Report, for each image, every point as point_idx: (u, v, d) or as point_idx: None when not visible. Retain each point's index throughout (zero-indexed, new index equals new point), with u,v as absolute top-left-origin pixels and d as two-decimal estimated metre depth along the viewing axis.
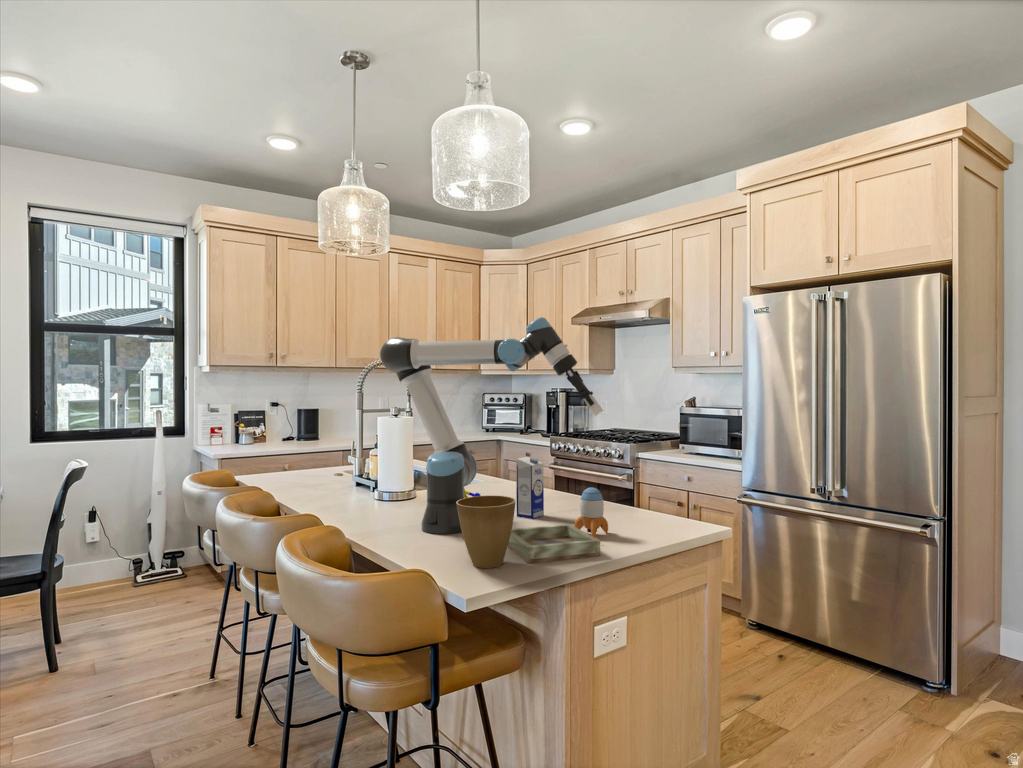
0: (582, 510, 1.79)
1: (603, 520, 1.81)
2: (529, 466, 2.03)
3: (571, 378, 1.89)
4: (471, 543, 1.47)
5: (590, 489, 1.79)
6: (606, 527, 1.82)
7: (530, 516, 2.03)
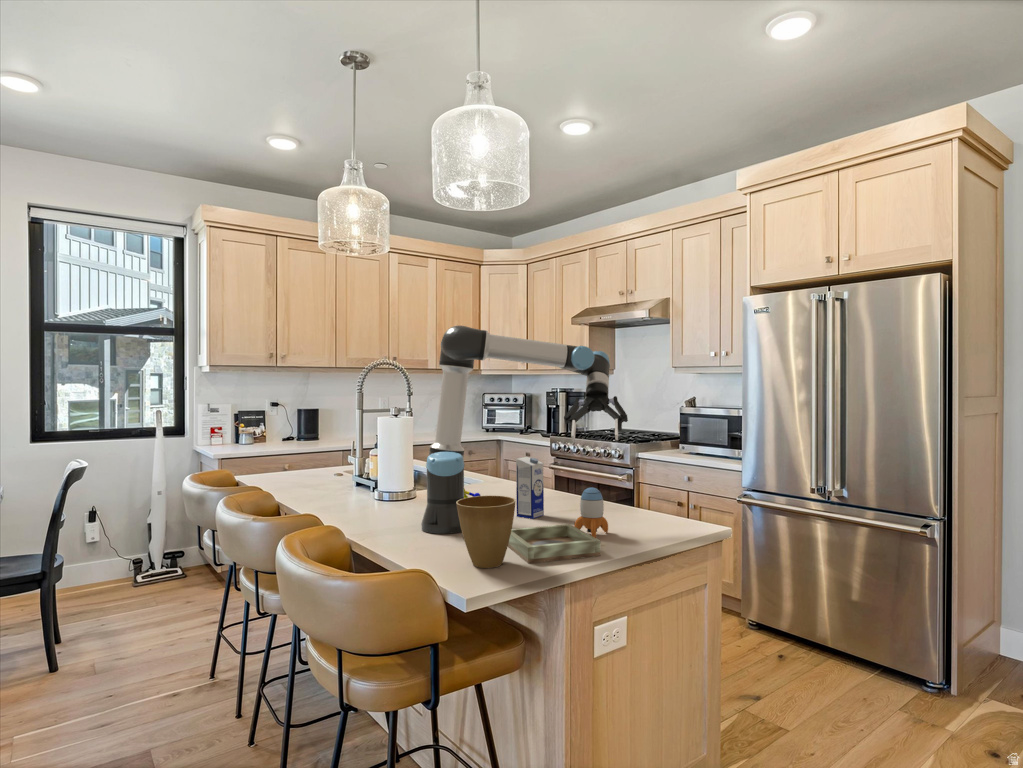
0: (582, 510, 1.79)
1: (603, 520, 1.81)
2: (529, 466, 2.03)
3: None
4: (471, 543, 1.47)
5: (590, 489, 1.79)
6: (606, 527, 1.82)
7: (530, 516, 2.03)
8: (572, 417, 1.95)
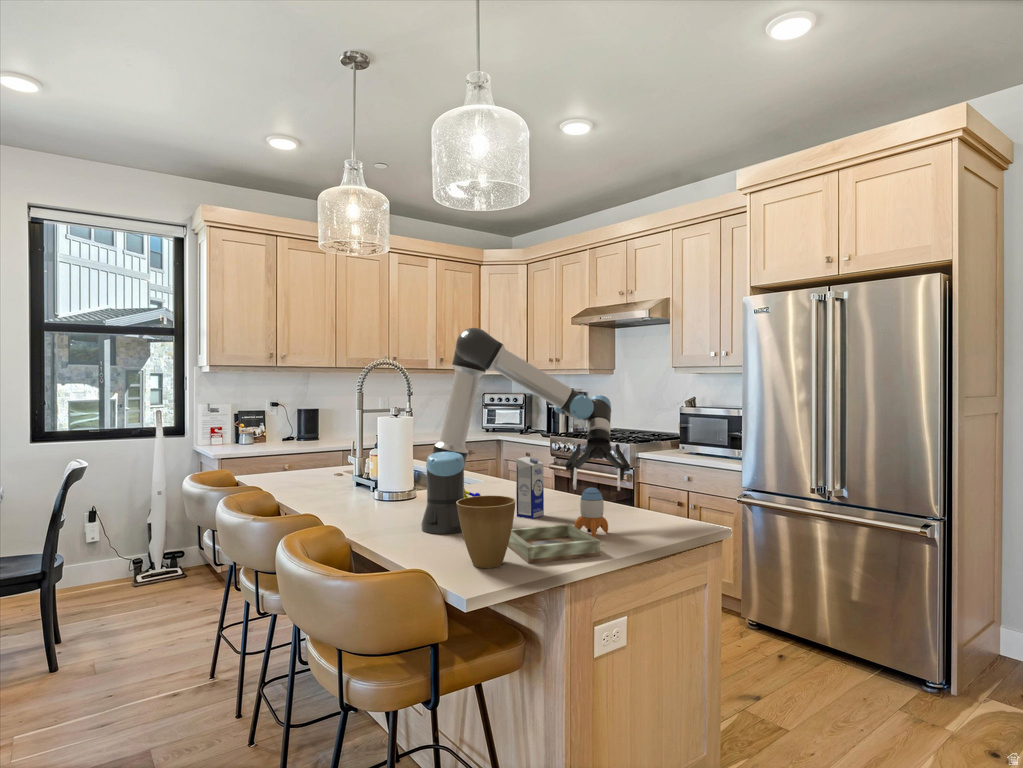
0: (582, 510, 1.79)
1: (603, 520, 1.81)
2: (529, 466, 2.03)
3: None
4: (471, 543, 1.47)
5: (590, 489, 1.79)
6: (606, 527, 1.82)
7: (530, 516, 2.03)
8: (574, 464, 1.93)
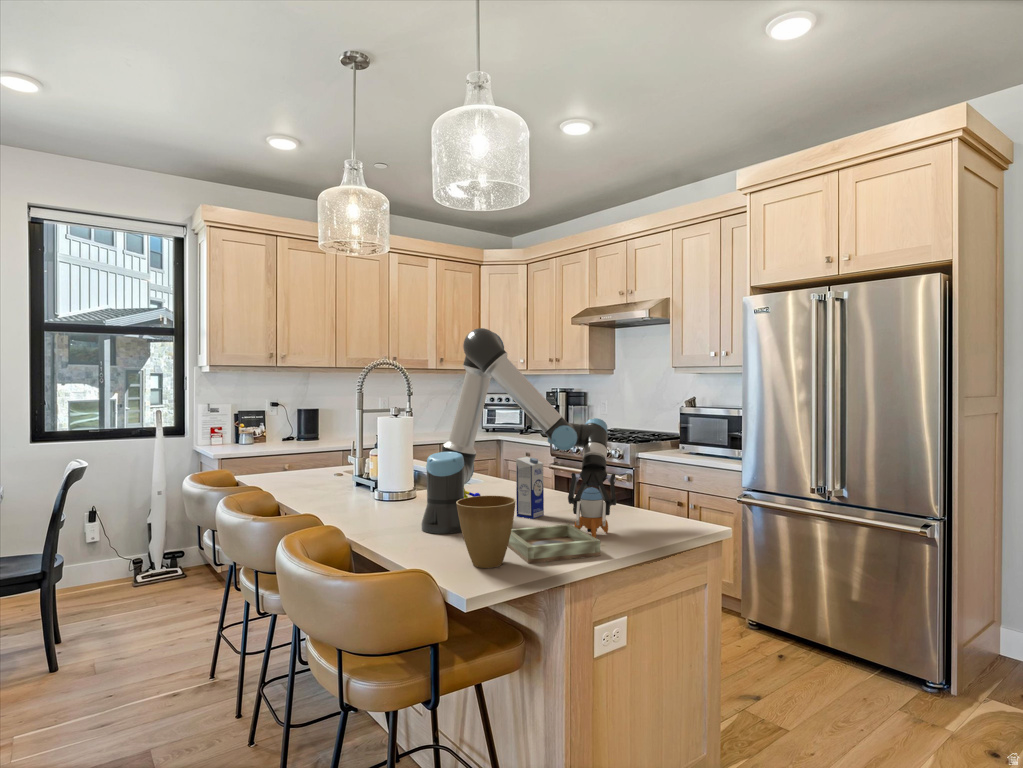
0: (582, 510, 1.79)
1: None
2: (529, 466, 2.03)
3: (614, 482, 1.84)
4: (471, 543, 1.47)
5: (590, 489, 1.79)
6: (606, 526, 1.82)
7: (530, 516, 2.03)
8: (576, 497, 1.81)
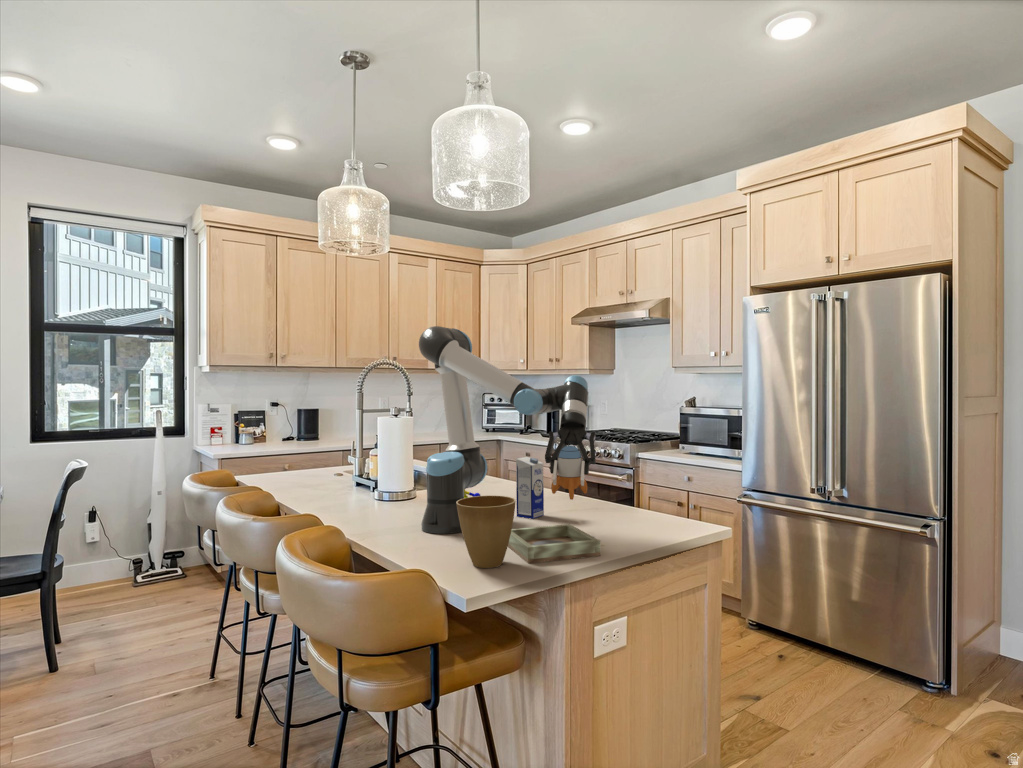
0: (559, 469, 1.69)
1: None
2: (529, 466, 2.03)
3: (593, 440, 1.74)
4: (471, 543, 1.47)
5: (568, 447, 1.69)
6: (585, 487, 1.72)
7: (530, 516, 2.03)
8: (553, 456, 1.71)
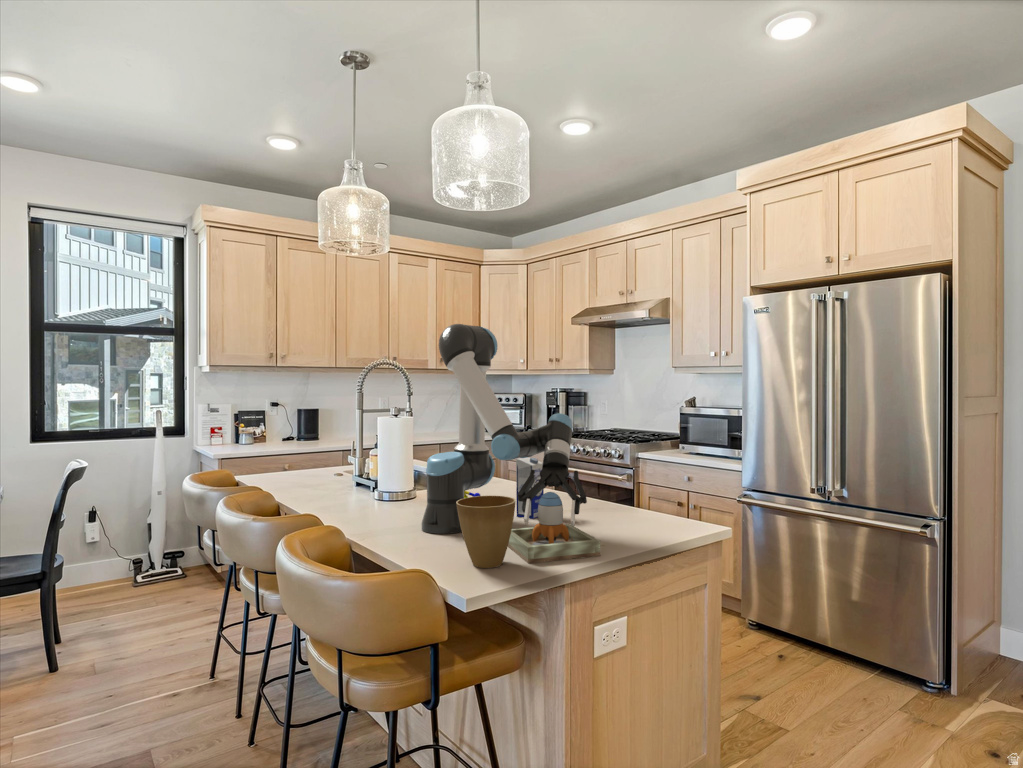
0: (539, 517, 1.64)
1: (563, 527, 1.67)
2: (529, 466, 2.03)
3: (578, 479, 1.70)
4: (471, 543, 1.47)
5: (548, 494, 1.65)
6: (566, 534, 1.67)
7: (530, 516, 2.03)
8: (526, 495, 1.68)
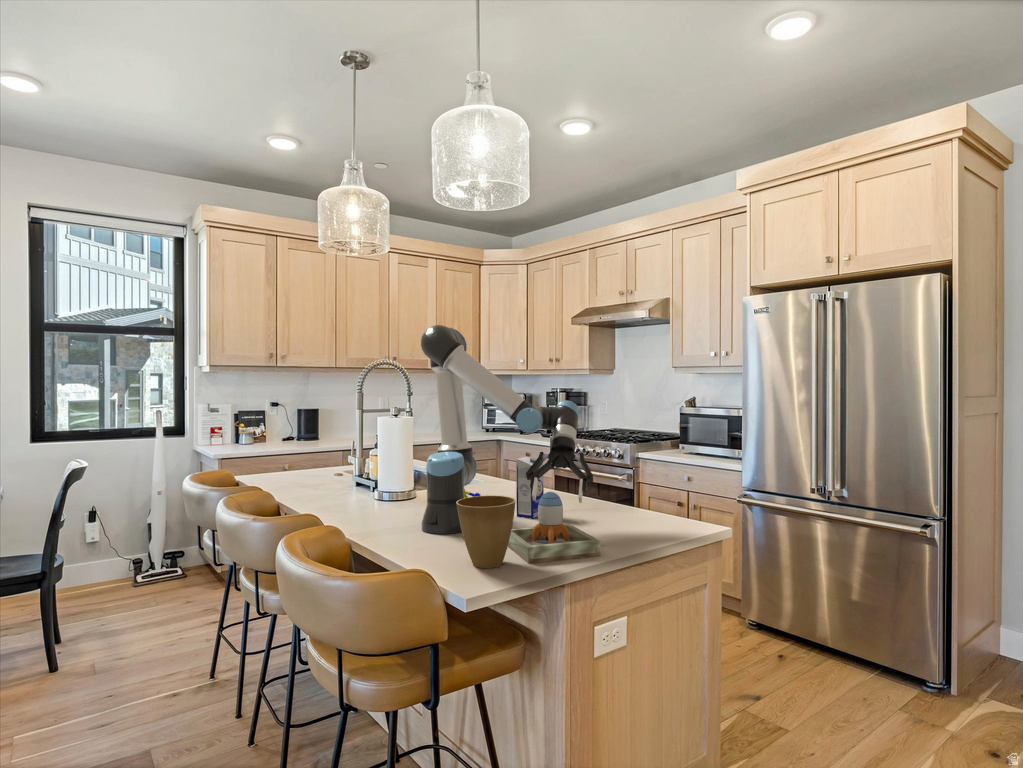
0: (539, 517, 1.64)
1: (563, 527, 1.67)
2: (529, 466, 2.03)
3: (584, 460, 1.83)
4: (471, 543, 1.47)
5: (548, 494, 1.65)
6: (566, 534, 1.67)
7: (530, 516, 2.03)
8: (534, 474, 1.82)
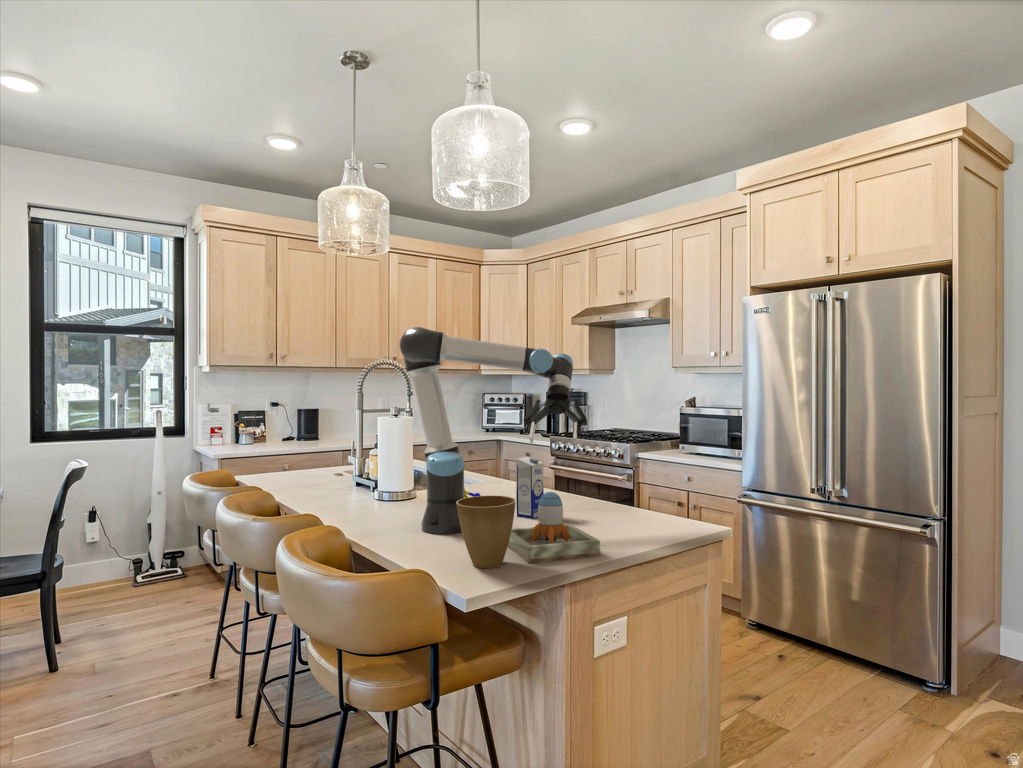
0: (539, 517, 1.64)
1: (563, 527, 1.67)
2: (529, 466, 2.03)
3: None
4: (471, 543, 1.47)
5: (548, 494, 1.65)
6: (566, 534, 1.67)
7: (530, 516, 2.03)
8: (531, 419, 1.92)
